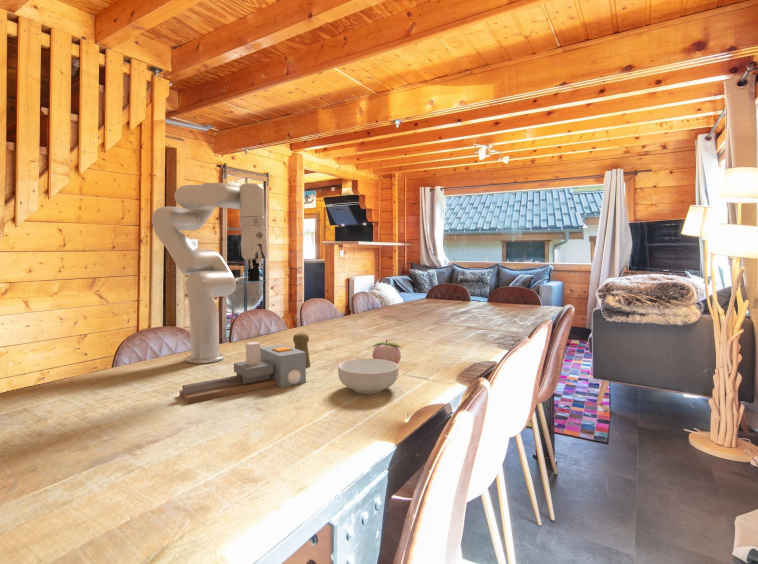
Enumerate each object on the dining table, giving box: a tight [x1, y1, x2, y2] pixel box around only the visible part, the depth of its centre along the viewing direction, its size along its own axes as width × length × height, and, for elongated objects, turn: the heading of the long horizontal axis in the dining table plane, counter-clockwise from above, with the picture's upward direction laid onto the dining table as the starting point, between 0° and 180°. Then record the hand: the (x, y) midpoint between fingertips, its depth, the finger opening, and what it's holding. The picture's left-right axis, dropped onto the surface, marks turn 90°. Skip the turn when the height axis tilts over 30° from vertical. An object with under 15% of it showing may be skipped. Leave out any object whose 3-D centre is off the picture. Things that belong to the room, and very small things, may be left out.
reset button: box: [273, 347, 291, 353], centre depth 129 cm, size 4×4×4 cm
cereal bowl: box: [337, 358, 399, 395], centre depth 119 cm, size 17×17×7 cm
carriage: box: [233, 341, 274, 384], centre depth 123 cm, size 9×8×10 cm
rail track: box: [179, 374, 277, 405], centre depth 119 cm, size 8×24×4 cm, turn 130°
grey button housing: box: [260, 344, 307, 389], centre depth 129 cm, size 15×8×9 cm, turn 40°
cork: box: [292, 332, 311, 369], centre depth 144 cm, size 6×6×11 cm
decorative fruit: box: [372, 339, 402, 365], centre depth 139 cm, size 9×8×10 cm
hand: (253, 280), depth 137 cm, fingers closed
